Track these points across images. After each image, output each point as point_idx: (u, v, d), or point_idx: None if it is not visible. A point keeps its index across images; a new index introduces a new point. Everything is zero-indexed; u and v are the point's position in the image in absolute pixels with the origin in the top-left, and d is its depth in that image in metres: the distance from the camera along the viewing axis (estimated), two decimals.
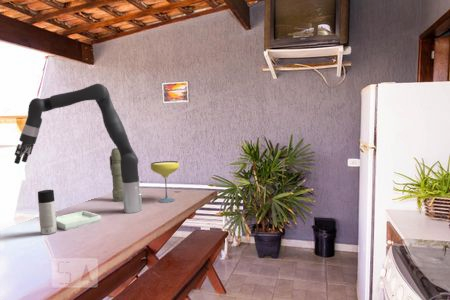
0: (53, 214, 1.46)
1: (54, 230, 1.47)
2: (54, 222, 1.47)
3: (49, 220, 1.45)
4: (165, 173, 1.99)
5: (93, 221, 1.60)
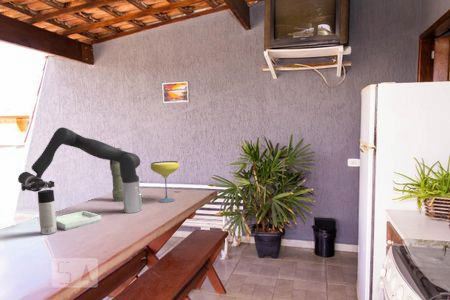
0: (53, 214, 1.46)
1: (54, 230, 1.47)
2: (54, 222, 1.47)
3: (49, 220, 1.45)
4: (165, 173, 1.99)
5: (93, 221, 1.60)
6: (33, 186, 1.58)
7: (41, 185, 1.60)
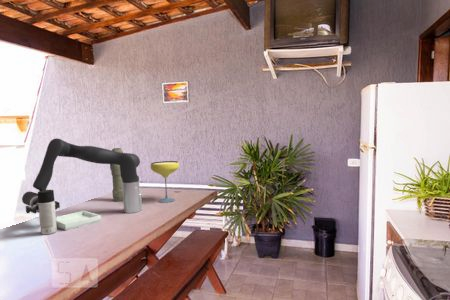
0: (53, 214, 1.46)
1: (54, 230, 1.47)
2: (54, 222, 1.47)
3: (49, 220, 1.45)
4: (165, 173, 1.99)
5: (93, 221, 1.60)
6: (38, 208, 1.53)
7: None
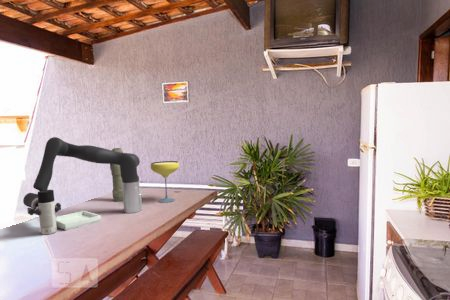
0: (53, 214, 1.46)
1: (54, 230, 1.47)
2: (54, 222, 1.47)
3: (49, 220, 1.45)
4: (165, 173, 1.99)
5: (93, 221, 1.60)
6: None
7: None
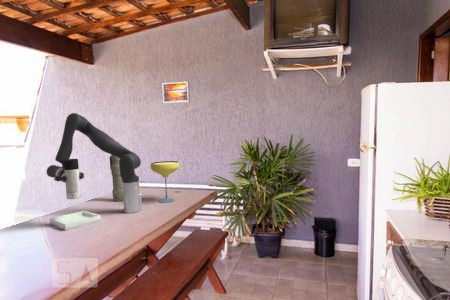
0: (78, 181, 1.60)
1: (79, 195, 1.60)
2: (79, 188, 1.60)
3: (74, 186, 1.58)
4: (165, 173, 1.99)
5: (93, 221, 1.60)
6: None
7: None
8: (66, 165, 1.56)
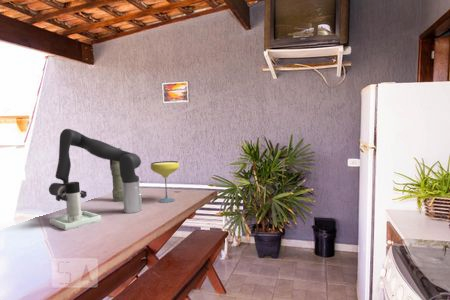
0: (79, 204, 1.61)
1: (80, 218, 1.61)
2: (80, 211, 1.61)
3: (75, 209, 1.59)
4: (165, 173, 1.99)
5: (93, 221, 1.60)
6: None
7: None
8: (67, 189, 1.58)
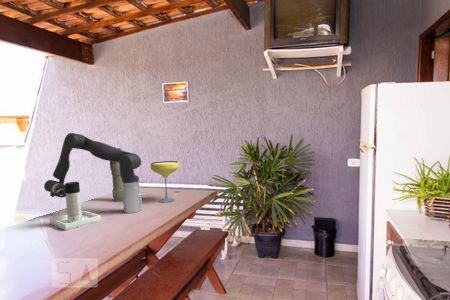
0: (79, 204, 1.61)
1: (80, 218, 1.61)
2: (80, 211, 1.61)
3: (75, 209, 1.59)
4: (165, 173, 1.99)
5: (93, 221, 1.60)
6: (61, 192, 1.73)
7: None
8: (67, 189, 1.58)
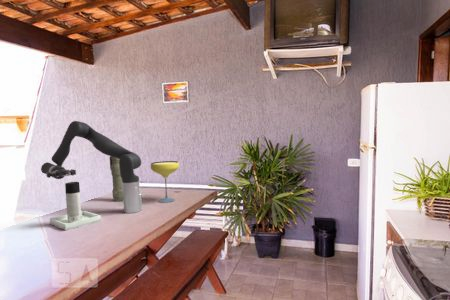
0: (79, 204, 1.61)
1: (80, 218, 1.61)
2: (80, 211, 1.61)
3: (75, 209, 1.59)
4: (165, 173, 1.99)
5: (93, 221, 1.60)
6: (57, 174, 1.74)
7: (64, 173, 1.76)
8: (67, 189, 1.58)
